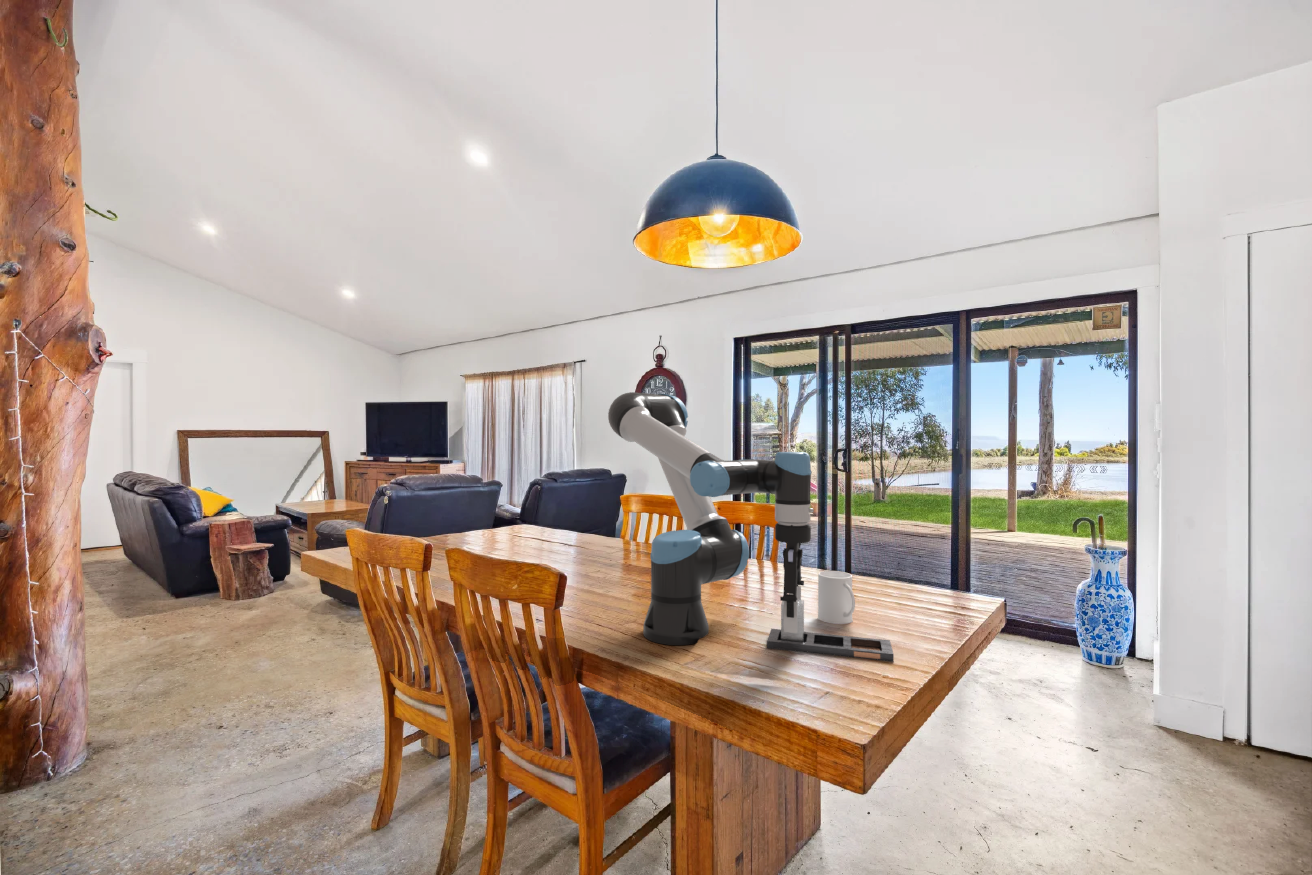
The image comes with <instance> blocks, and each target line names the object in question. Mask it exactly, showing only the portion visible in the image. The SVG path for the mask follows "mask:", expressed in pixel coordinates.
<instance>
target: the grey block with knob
mask: <svg viewBox="0 0 1312 875" xmlns="http://www.w3.org/2000/svg"><path fill="white" fill-rule="evenodd" d="M780 609H781V610H780V616H781V617H780V630H781V640H782V641H791V642H801V643H804V632H805V622H804V621H805V620H804V619H805V600H802V599H801V600H798V599H797V633H790V632H784V601H781V604H780Z"/></svg>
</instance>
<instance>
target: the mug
mask: <svg viewBox="0 0 1312 875" xmlns="http://www.w3.org/2000/svg"><path fill="white" fill-rule="evenodd" d="M817 574H818V575H817V576H818V578H817V579H818V583H817V587H818V588H817V591H818V592H817V593H818V594H817V596H818V597H817V600H818V601H817V607H818V609H817V620H819V621H821V622H824V623H827V624H831V625H834V624H835V625H848V624H851V623H853V622H854V620H853V613H854V611H855V608H856V598H855V594H854V591H853V575H852V574H851V573H848V572H844V571H841V570H840V571H838V570H824V571H819V572H818V573H817Z"/></svg>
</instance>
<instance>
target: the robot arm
mask: <svg viewBox="0 0 1312 875" xmlns="http://www.w3.org/2000/svg"><path fill="white" fill-rule="evenodd" d="M607 414H608V416H607V418H608V423H609V425H610V427H611V430H612V431H613V432H614V433H615V434H616V435H617V436H619V437H621V439H623V440H625V441H626V442H627V443H629V442H630V443H636V444H638V445H639V446H640V447H642V448H644V449H645V450H646V451H648V452H649V453H651V454H652V455H653V456H656V457H657V459H658V461H659V463H660V466H661V468H662V471H663V474H664V475H665V478H666V481H667V483H668V486H669V488H670V491H671V493H672V495H673V497H674V500H675V503H676V505H677V507H678V510H679V512H680V514H681V517H682V519H683V522H684V525H686V529H678V530H670V531H666V532H663V533H660V534H658V535H656V536H655V537H654V538H653V540H652V542H651V552H650V557H649V558H650V573H651V574H650V576H651V577H650V582H651V583H650V603H649V606H648V609H647V612H646V616H645V619H644V622H643V636H644V638H646V639H647V640H648V641H650V642H653V643H657V644H661V645H669V646H686V645H694V644H697V643H698V642H699V640H701V639H702V638H705V637H706V636H707V635H708V634H709V631H710V630H709V629H710V627H709V622H708V619H707V616H706V613H705V609H704V606H703V604H702V603H703V602H702V585H705V584H706V585H707V584H710V583H714V582H718V581H719V582H720V581H727V580H730V579H731V578H734V577H737V576H739V575H741V574H742V573H743V572H744V571H745V569H746V568H747V565H748V560H749V558H750V548H749V543H748V541H747V538H746V537H745V535H744V534H743V533H742V532H740V531H738V530H736V529H731V526H730V524H729V521H728V519H727V518H726V517H724V516H721V515H719V514H718V512H717V509H716V507H715V505H714V502H713V500H712V498H716V497H721V496H731V495H743V494H744V495H745V494H756V493H759V494H760V493H761V494H772V495H774V498H775V500H774V501H775V502H774V520H775V521H776V524H775V526H774V531H775V532H774V538H775V540H776V541H777V542H780V543H786V547H784V548H783V550H782V557H783V558H782V559H783V563H782V564H783V570H784V571H783V592H782V593H783V594H782V596H779V599H780V602H782V601H784V632H790V633H797V599H798V600H802V586H805V580H802V567H801V566H802V564H803V556H804V555H803V549H801V546H802V544H806V543H809V542H811V540H812V538H811V537H812V531H811V530H812V527H811V525H810V524H809V523H810V522H811V520H812V519H811V513H814V510H815V509H814V508H813V507H812V508H811V502H812V501H811V485H812V483H811V481H812V468H811V457H810V455H809V453H808V452H804V451H777V452H776V454H775V457H774V460H767V459H754V458H749V459H748V458H747V459H746V458H744V459H738V460H737V459H735V460H724V459H721V458H720V457H718V456H716V455H715V454H713V453H711V452H710V451H708V450H706V449H705V448H704V447H702V446H700V445H698V444H697V443H695V442H693V441H692V440H690V439H689V438H687V437H685V435H686V434H687V426H688V422H689V421H688V420H687V419H688V417H689V413H688V410H687V407H686V405H685V404H684V402H683V401H682V400H681V399H680V398H679V397H677V396H676V395H675V396H674V395H670V394H667V393H646V392H625V393H623V394H621V395H618V397H616V398H615V399H614V400H613V401H612V402H611V404H610V406H609V409H608V412H607Z"/></svg>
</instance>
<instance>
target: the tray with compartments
mask: <svg viewBox="0 0 1312 875" xmlns="http://www.w3.org/2000/svg"><path fill="white" fill-rule="evenodd" d="M766 648H767V649H770V650H772V649H773V650H781V651H789V652H798V653H799V652H800V653H807V654H808V653H809V654H815V655H816V654H818V655H825V656H826V655H827V656H835V657H837V656H838V657H845V658H853V659H854V658H855V659H863V660H873V661H880V662H888V663H889V662H891V663H893V662H894V651H893V647H892V644H891V640H890V639H880V638H879V639H878V638H869V637H862V636H861V637H860V636H850V635H849V636H848V635H839V634H830V633H820V632H818V633H817V632H809V631H804V643H801V642H791V641H782V640H781V628H779V629H778V628H771V629H770V631H769V635H768V638H767V640H766Z"/></svg>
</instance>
